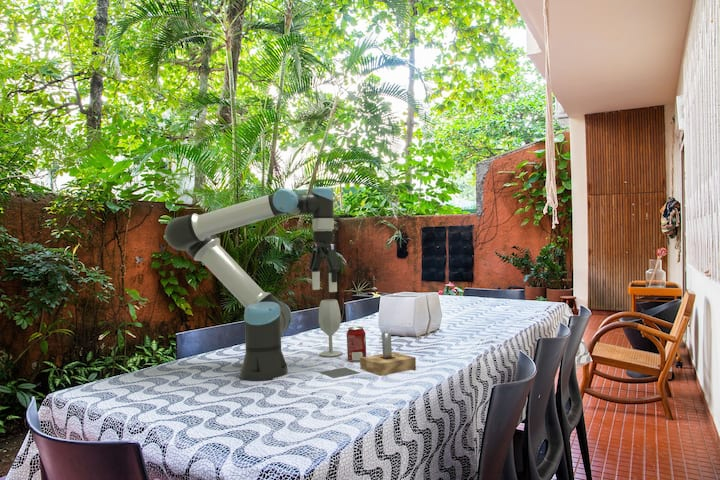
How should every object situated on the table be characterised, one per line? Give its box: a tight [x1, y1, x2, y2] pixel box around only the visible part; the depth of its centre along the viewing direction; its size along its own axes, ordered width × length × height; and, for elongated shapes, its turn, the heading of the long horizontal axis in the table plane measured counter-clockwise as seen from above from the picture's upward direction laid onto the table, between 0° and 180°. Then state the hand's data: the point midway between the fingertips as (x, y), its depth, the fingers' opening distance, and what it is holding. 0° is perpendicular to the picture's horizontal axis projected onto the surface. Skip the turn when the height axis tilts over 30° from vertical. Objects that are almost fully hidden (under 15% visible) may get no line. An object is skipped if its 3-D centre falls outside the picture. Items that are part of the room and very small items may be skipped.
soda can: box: [346, 326, 367, 363], centre depth 181 cm, size 7×7×12 cm
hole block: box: [359, 351, 417, 376], centre depth 167 cm, size 14×12×4 cm
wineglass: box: [318, 299, 343, 358], centre depth 194 cm, size 9×9×21 cm
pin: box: [381, 332, 393, 360], centre depth 167 cm, size 3×3×12 cm
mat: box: [318, 367, 361, 379], centre depth 164 cm, size 10×10×1 cm
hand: (324, 290), depth 178 cm, fingers open, 13 cm apart
